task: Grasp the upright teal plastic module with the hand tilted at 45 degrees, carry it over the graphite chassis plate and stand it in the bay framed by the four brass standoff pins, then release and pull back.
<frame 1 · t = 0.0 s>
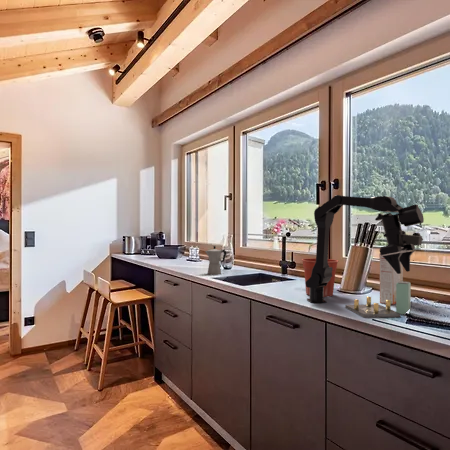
hand: (403, 272, 131), 15 cm above the counter, tool pointing down, fingers open, 9 cm apart
chassis: (371, 312, 137), on the counter
coffeepot: (215, 273, 241), on the counter
flower pot: (319, 295, 171), on the counter
module: (403, 313, 136), on the counter
cracker box: (391, 301, 157), on the counter
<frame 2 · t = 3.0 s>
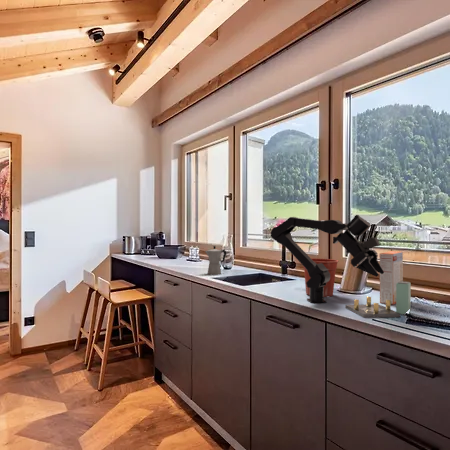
hand: (380, 274, 141), 13 cm above the counter, tool tilted 45°, fingers open, 9 cm apart
nothing on the counter moved.
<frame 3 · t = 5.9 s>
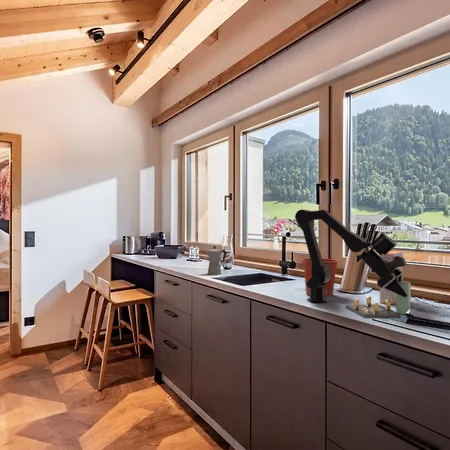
hand: (407, 295, 135), 7 cm above the counter, tool tilted 45°, fingers closed on module, 5 cm apart
module: (403, 312, 136), on the counter, touching gripper
everything else where it was.
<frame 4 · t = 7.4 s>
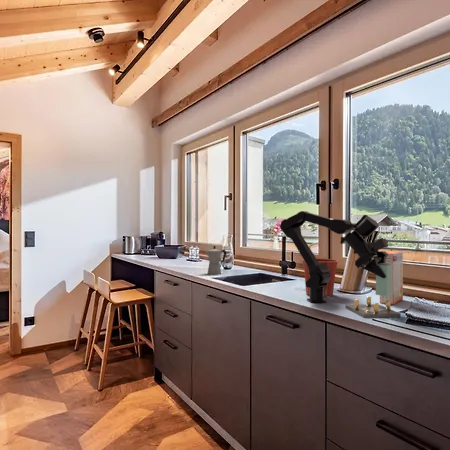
hand: (387, 277, 135), 13 cm above the counter, tool tilted 45°, fingers closed on module, 5 cm apart
module: (383, 294, 136), point 7 cm above the counter, touching gripper
everything else where it was.
when the fingers open (9 cm above the counter, at t = 9.1 s): module drops 1 cm, resting on chassis.
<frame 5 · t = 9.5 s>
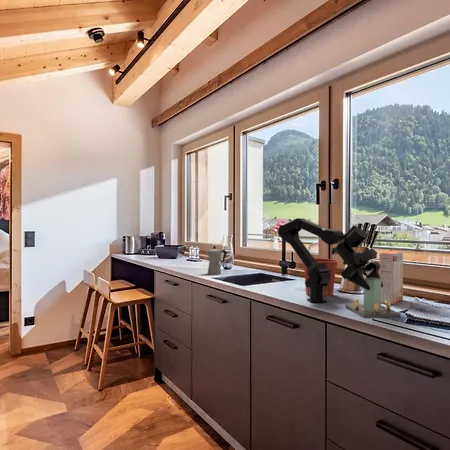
hand: (376, 288, 135), 9 cm above the counter, tool tilted 45°, fingers open, 9 cm apart
module: (372, 309, 136), point 1 cm above the counter, touching chassis
everything else where it was.
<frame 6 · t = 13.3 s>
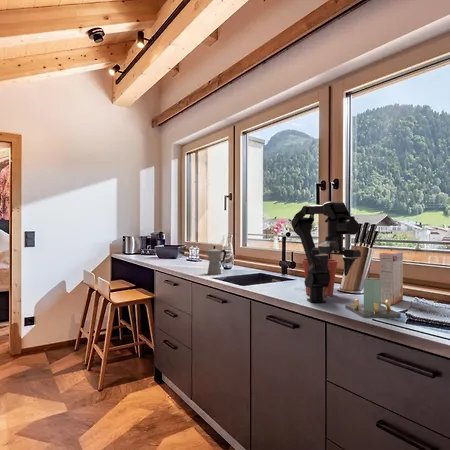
hand: (335, 274, 144), 13 cm above the counter, tool pointing down, fingers open, 9 cm apart
nothing on the counter moved.
at the end: module 0.0 cm from the target spot on the chassis, point 1.3 cm above the chassis's base; module tilted 0°; the gripper is holding nothing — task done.
